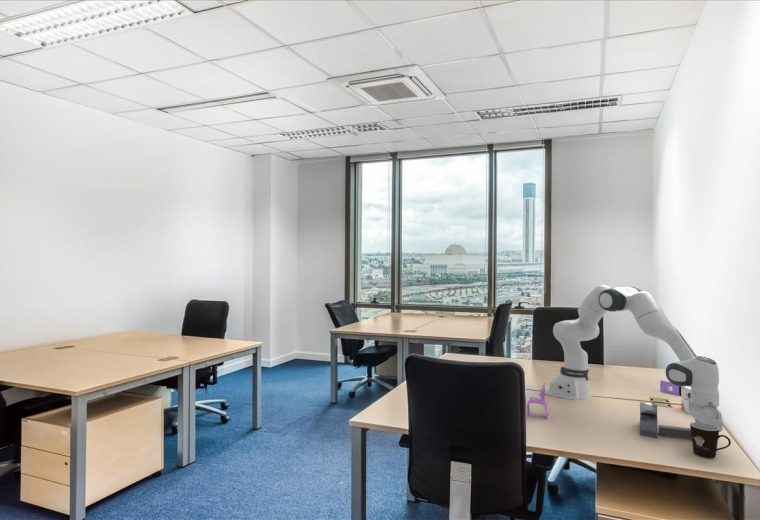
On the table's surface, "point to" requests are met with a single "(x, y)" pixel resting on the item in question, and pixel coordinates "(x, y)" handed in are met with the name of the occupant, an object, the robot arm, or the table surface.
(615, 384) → the table surface
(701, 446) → the coffee mug
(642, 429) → the housing
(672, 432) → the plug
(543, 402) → the toy chair
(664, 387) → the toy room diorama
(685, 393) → the ink cartridge box
